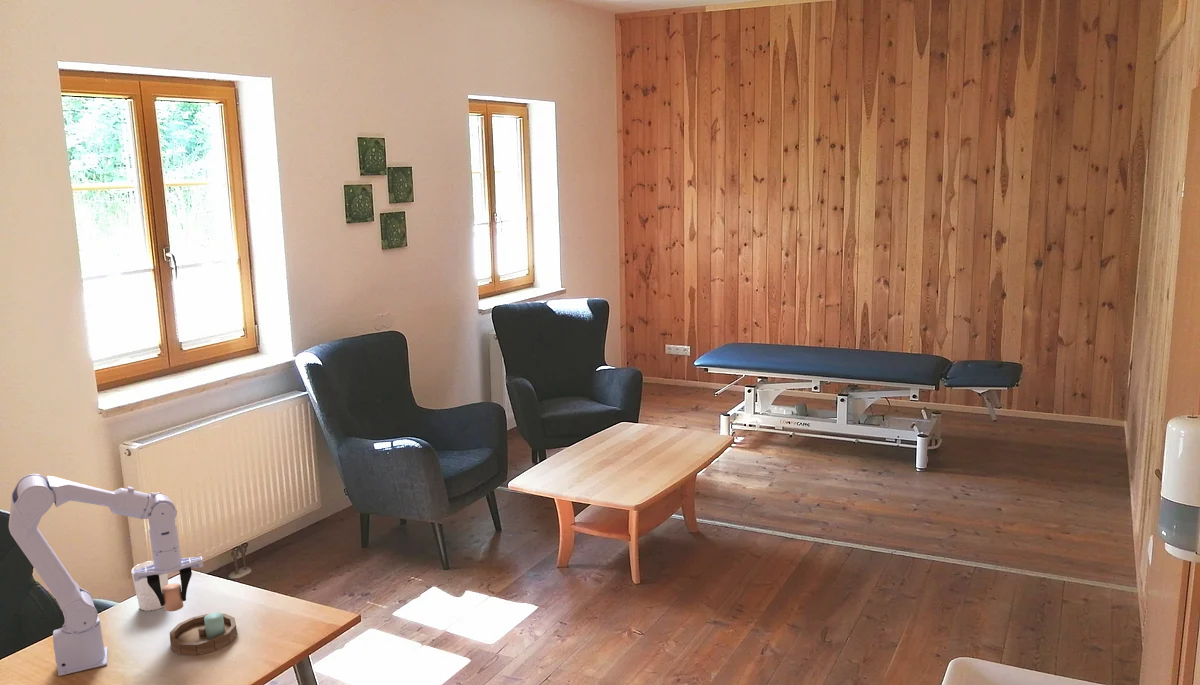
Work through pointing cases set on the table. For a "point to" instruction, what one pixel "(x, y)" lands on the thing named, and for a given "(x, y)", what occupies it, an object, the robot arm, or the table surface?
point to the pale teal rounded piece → (214, 625)
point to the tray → (200, 636)
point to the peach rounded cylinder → (172, 597)
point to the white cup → (148, 589)
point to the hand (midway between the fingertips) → (173, 601)
